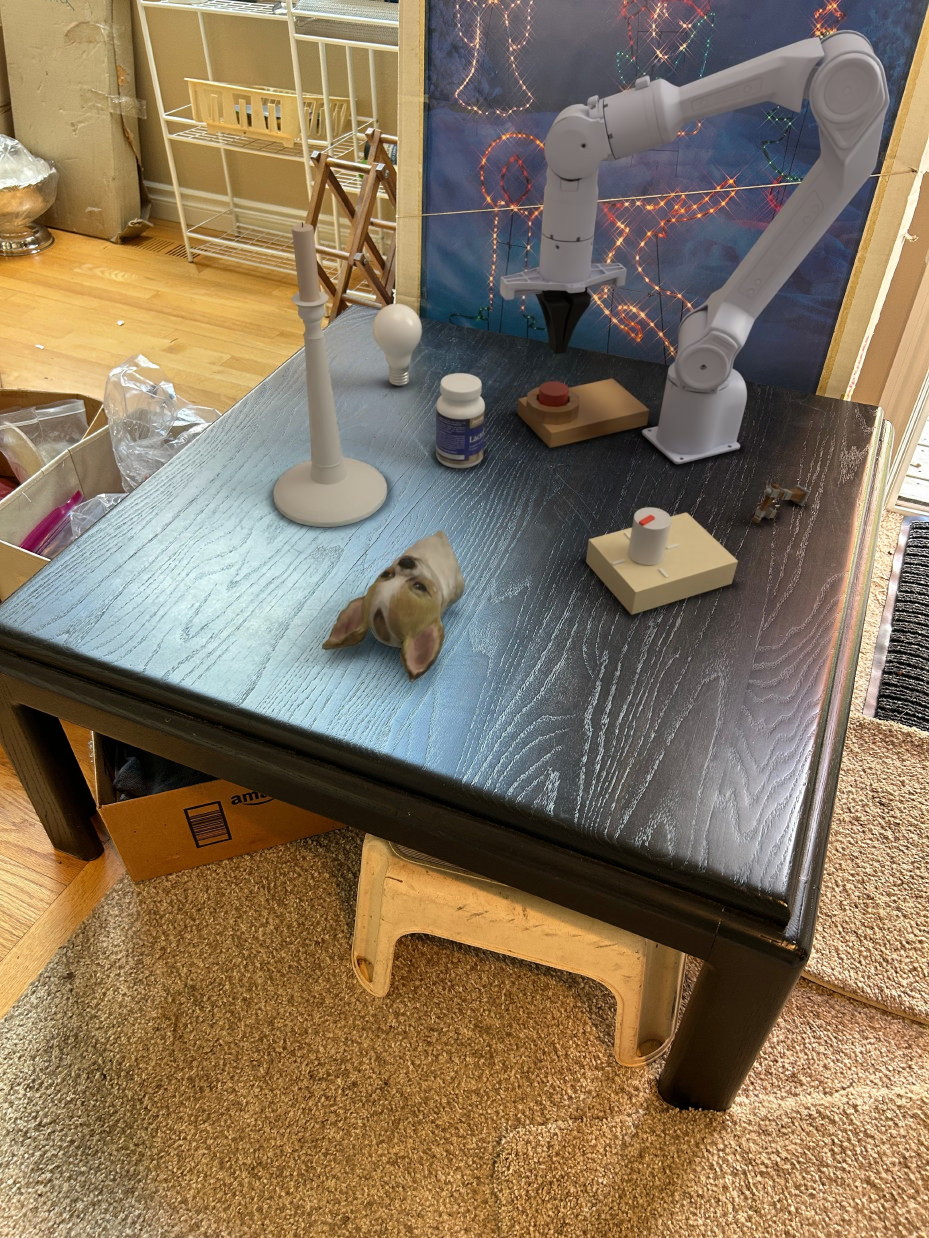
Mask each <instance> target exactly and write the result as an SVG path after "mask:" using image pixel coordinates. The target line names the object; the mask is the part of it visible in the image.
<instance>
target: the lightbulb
mask: <svg viewBox="0 0 929 1238" xmlns="http://www.w3.org/2000/svg"><path fill="white" fill-rule="evenodd" d="M372 335H373V338H374V341H375V343H376V344H377V346H378V347H379V348H380V350H381V351H382V353H383V354H384V358H385V361H386V363H387V365H388V374H389V375H388V376H389V378H388V379H389V383H390V384H391V385H394V386H396V387H402V386H405V385H406V384H408V383H409V382H410V363H411V361H412V357H413V356H412V355H413V354H414V353H413V352H414V351H415V350H416V348H417V346H418V345H419V343H420V341H421V339H422V335H423V325H422V322H421V318H420V316H419V315H418V313H417V312H416V311H415V310H414V309H412V308H411V306H409V305H406V304H403V303H391V304H387V305H386V306H383V307H382V308H381V309H380V310H379V311H378V312H377V314H376V315H375V317H374V320H373V323H372Z"/></svg>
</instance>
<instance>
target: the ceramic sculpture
mask: <svg viewBox="0 0 929 1238" xmlns="http://www.w3.org/2000/svg"><path fill="white" fill-rule="evenodd" d="M465 589H466V580H465V578H464V576H463V574H462V570H461V567H460V564H459V562H458V559H457V558H456V555H455V552H454V549H453V546H452V545H451V543H450V541H449V539H448V536H447V534H446V532H445V531H444V530H442V529H440V530H438V531H436V532H435V533H434V534H431V535H429V536H426V537H424V538H422V539H419V540H417V541H416V542H415V543H414V544H412V545H411V546H409V547H408V548H407V549H406V550H405V551H403V553H402V554H401V555H400V556H398V557H397V558H395V559H394V560H393V562H392V563H391V564H390V566H388V567H386V568H385V569H384V570H383V571H382V572H380V573H379V575H378V576H377V578H375V580H374V582H373V583H372V584H371V585H369V586H368V589H367V591H366V593H365V595H362V596H359V597H357V598H354V599H353V600H350V601H349V602H348V604H347V605H346V607H345V608H344V609H342V610H341V611H340V612H339V614H338V616H337V618H336V622H335V623H334V624H333V626H332V629H331V631H330V633H329V636H328V637H327V639H326V640H324V642H323V643H322V645H321V649H322V650H325V651H329V650H339V649H346V648H350V647H357V646H359V644H362V643H363V642H364V640H365V639H366V637H367V635H368V633H370V630H371V632H372V634H373V636H374V637H375V639H376V640H377V641H379V642H380V643H382V644H384V645H386V646H389V647H393V648H399V649H400V648H401V649H400V663H401V665H402V667H403V668H404V670H405V672H406V674H407V677H408V680H409V682H410V683H414V682H415V681H417V680H418V679H420V678H421V677H423V676H424V675H426V674H427V673H428V672H429V671H430V669H431V668H432V667H433V666H434V665H435V663H436V661H437V660H438V657H439V655H440V652H441V650H442V648H443V643H444V641H445V639H446V638H445V637H446V634H445V627H444V624H443V623H442V620H441V618H442V616H443V615H444V613H445V612H446V608H448V607H451V606H453V605H455V604H456V603H457V602H459V600H460V599H462V597H463V595H464V593H465Z"/></svg>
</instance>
